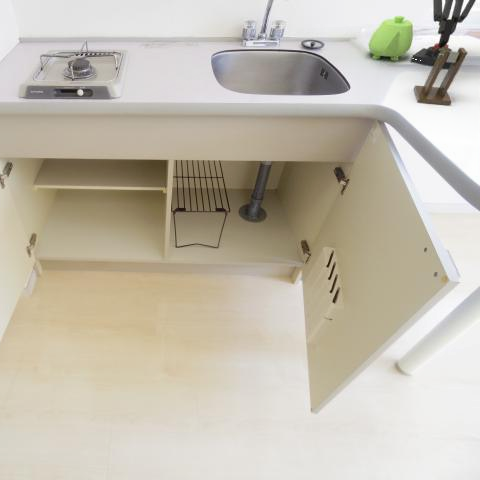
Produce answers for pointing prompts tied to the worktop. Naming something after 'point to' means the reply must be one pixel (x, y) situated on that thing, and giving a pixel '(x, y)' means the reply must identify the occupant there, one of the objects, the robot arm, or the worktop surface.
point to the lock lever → (450, 58)
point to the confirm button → (437, 46)
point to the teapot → (392, 38)
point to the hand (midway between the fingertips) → (443, 44)
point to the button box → (428, 58)
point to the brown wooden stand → (440, 93)
